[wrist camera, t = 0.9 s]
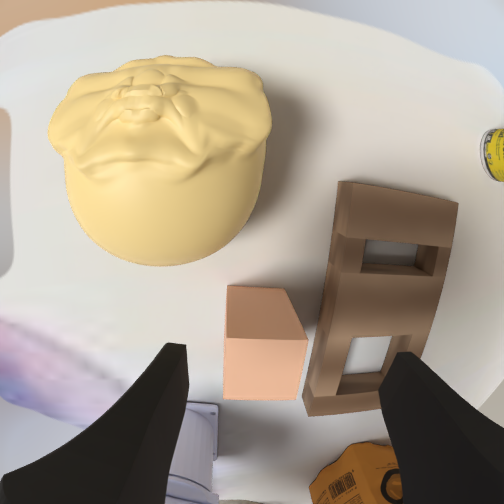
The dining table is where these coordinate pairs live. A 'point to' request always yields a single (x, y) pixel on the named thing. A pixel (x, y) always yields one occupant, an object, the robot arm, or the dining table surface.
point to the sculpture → (163, 156)
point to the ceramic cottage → (237, 502)
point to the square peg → (262, 345)
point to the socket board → (376, 290)
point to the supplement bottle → (493, 153)
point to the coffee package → (360, 477)
